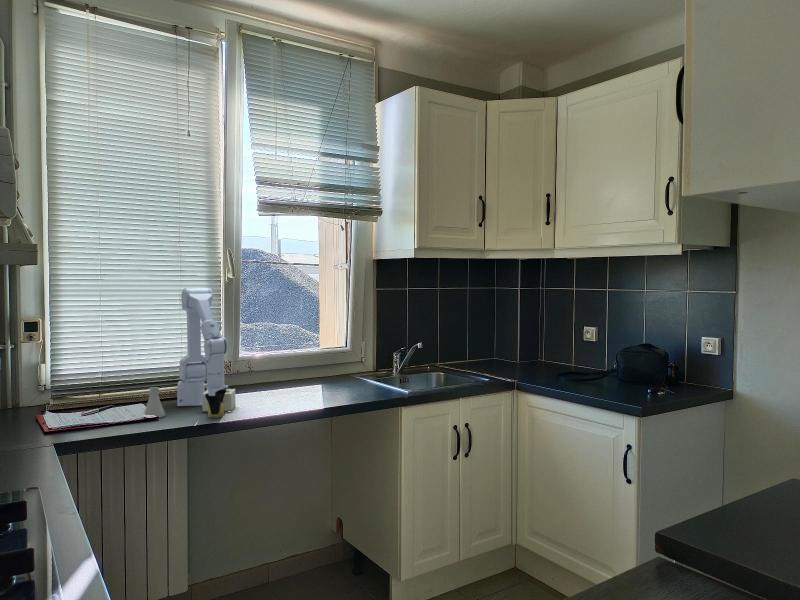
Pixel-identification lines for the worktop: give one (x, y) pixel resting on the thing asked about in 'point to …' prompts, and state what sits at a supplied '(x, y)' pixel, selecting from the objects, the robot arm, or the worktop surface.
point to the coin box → (228, 400)
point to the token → (220, 413)
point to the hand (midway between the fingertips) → (216, 412)
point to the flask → (154, 404)
